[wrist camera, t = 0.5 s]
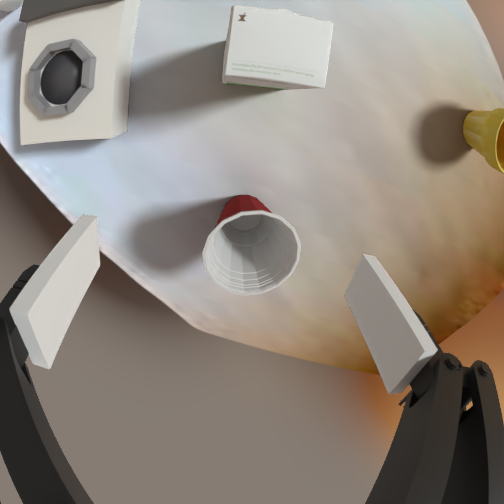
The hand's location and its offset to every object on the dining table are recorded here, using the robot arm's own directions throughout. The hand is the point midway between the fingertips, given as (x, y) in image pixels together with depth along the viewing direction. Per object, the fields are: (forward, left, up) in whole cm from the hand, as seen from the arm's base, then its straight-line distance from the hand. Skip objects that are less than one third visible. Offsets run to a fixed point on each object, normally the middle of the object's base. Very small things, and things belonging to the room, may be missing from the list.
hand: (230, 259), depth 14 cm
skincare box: (-12, +2, -27) cm, 30 cm away
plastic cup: (+9, +3, -27) cm, 29 cm away
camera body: (-13, -21, -27) cm, 36 cm away
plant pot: (-12, +40, -27) cm, 50 cm away
